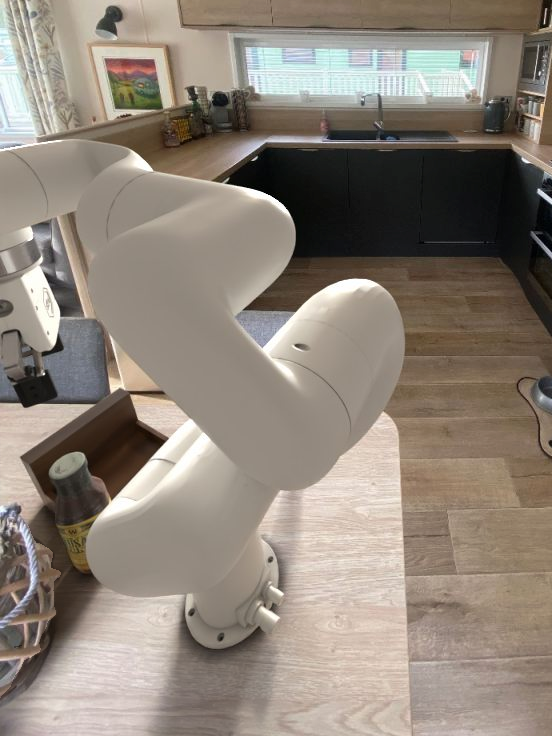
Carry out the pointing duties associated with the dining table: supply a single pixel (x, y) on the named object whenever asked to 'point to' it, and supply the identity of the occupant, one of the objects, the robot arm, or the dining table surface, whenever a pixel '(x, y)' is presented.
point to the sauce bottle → (77, 504)
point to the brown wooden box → (97, 446)
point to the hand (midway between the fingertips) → (46, 375)
